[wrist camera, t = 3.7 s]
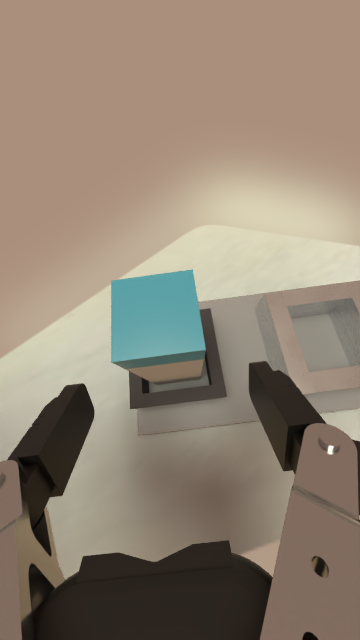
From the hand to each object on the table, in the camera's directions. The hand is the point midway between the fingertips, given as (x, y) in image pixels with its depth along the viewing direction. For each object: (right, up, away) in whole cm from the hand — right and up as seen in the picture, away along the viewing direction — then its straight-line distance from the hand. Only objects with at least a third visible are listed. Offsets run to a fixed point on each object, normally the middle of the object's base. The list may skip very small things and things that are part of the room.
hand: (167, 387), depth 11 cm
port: (+13, +1, +11) cm, 17 cm away
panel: (+7, 0, +11) cm, 13 cm away
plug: (0, -1, +10) cm, 10 cm away
